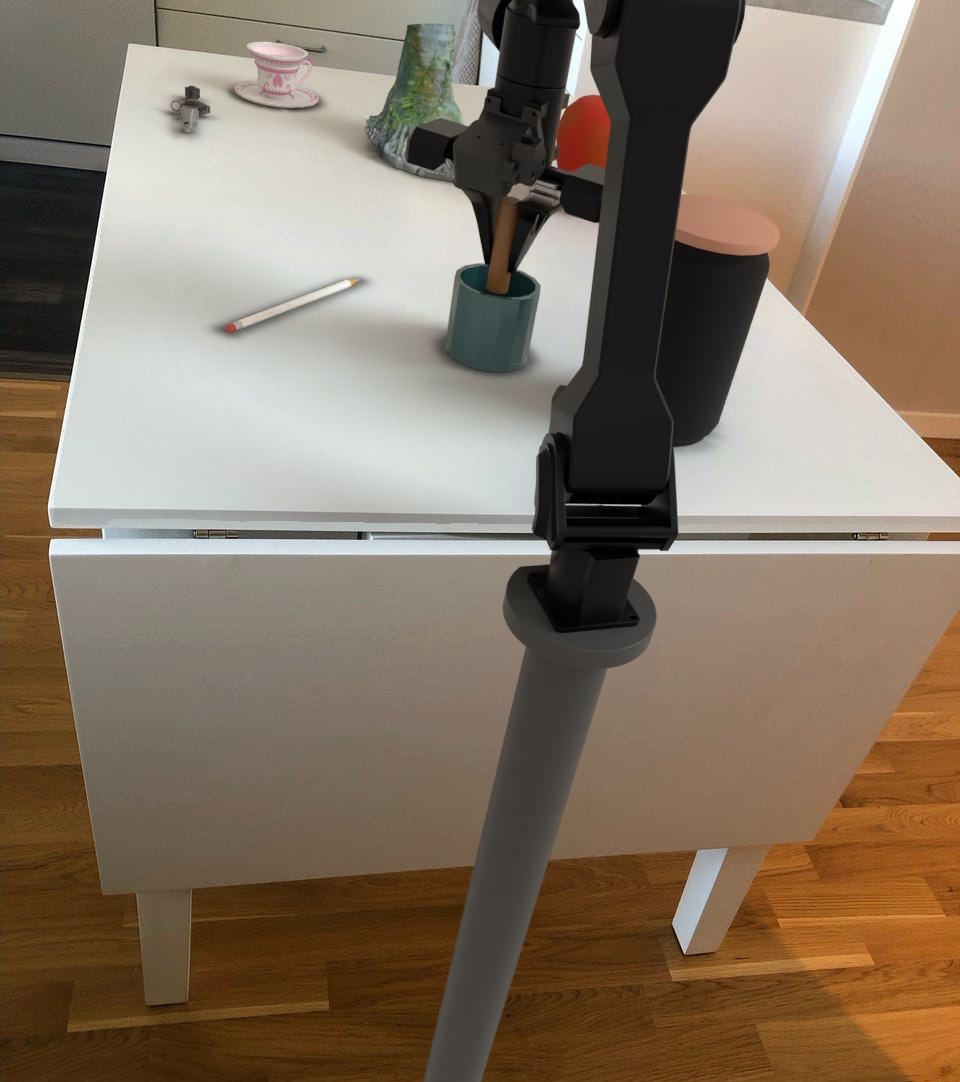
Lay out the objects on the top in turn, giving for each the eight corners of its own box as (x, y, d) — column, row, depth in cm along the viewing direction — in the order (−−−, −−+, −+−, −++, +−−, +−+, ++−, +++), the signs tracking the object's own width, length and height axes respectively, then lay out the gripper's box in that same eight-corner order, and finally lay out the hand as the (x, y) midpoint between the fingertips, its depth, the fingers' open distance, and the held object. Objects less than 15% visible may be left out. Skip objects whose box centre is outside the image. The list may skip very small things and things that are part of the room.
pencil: (224, 331, 97) (224, 324, 97) (355, 281, 110) (356, 274, 110) (231, 334, 97) (231, 327, 97) (362, 284, 110) (362, 277, 109)
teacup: (235, 104, 149) (235, 55, 145) (232, 80, 158) (232, 33, 154) (322, 113, 152) (325, 65, 148) (315, 89, 160) (317, 43, 157)
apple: (566, 227, 131) (591, 103, 122) (527, 191, 139) (548, 72, 130) (653, 228, 136) (683, 109, 127) (611, 193, 144) (636, 79, 135)
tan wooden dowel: (510, 294, 97) (526, 205, 92) (490, 294, 97) (504, 204, 92) (503, 285, 99) (518, 196, 94) (483, 285, 98) (497, 195, 93)
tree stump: (410, 189, 134) (401, 24, 125) (342, 174, 149) (330, 26, 140) (532, 177, 142) (532, 20, 134) (456, 164, 157) (451, 22, 148)
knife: (208, 125, 133) (166, 121, 132) (208, 142, 135) (166, 138, 134) (211, 85, 147) (173, 81, 146) (211, 101, 149) (173, 97, 147)
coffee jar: (739, 438, 96) (808, 238, 85) (651, 459, 91) (713, 249, 79) (661, 382, 102) (716, 189, 91) (574, 400, 97) (621, 197, 85)
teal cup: (538, 371, 100) (552, 300, 96) (459, 372, 98) (470, 299, 93) (511, 333, 106) (523, 264, 101) (435, 333, 103) (444, 262, 99)
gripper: (380, 62, 83) (364, 260, 93) (600, 127, 78) (558, 329, 88) (448, 44, 91) (426, 228, 101) (651, 103, 86) (607, 290, 96)
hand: (500, 268), depth 96 cm, fingers closed on tan wooden dowel, 2 cm apart
